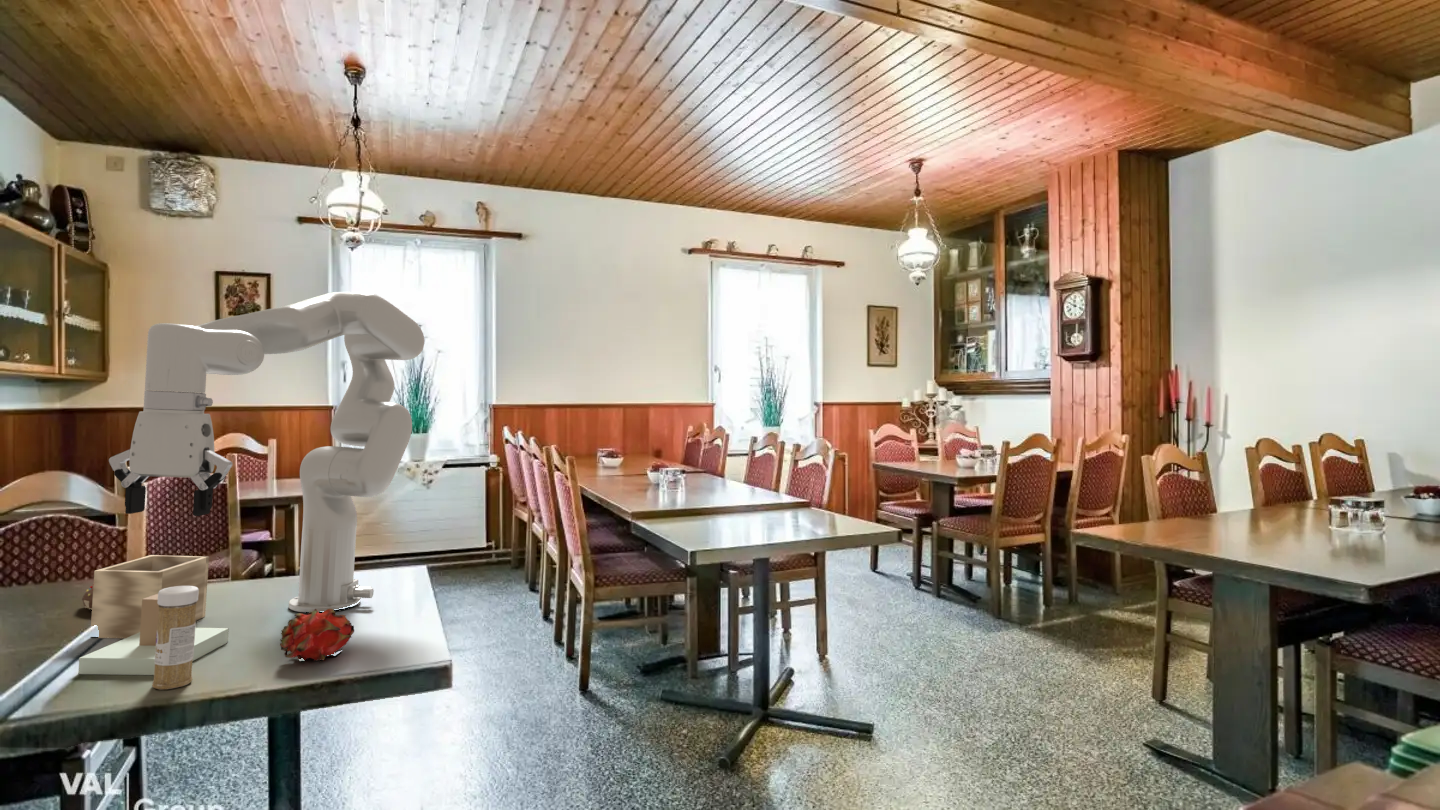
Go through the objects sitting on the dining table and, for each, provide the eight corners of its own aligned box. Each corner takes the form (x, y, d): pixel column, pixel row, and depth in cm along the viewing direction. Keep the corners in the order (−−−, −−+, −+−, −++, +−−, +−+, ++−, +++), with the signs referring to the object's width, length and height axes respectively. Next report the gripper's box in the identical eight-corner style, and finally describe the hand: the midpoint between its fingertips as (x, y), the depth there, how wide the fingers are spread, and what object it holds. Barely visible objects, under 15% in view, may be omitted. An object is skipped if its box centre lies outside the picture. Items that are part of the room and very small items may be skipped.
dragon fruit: (268, 679, 107) (344, 669, 117) (300, 654, 104) (375, 646, 114) (261, 626, 111) (335, 620, 121) (292, 600, 108) (365, 597, 118)
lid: (228, 642, 118) (231, 585, 118) (166, 675, 103) (170, 610, 103) (151, 640, 116) (155, 584, 117) (78, 673, 102) (82, 608, 102)
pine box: (205, 616, 130) (208, 556, 131) (155, 639, 117) (159, 572, 118) (147, 615, 130) (151, 555, 130) (90, 637, 116) (94, 570, 117)
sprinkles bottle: (148, 684, 99) (154, 587, 99) (188, 676, 103) (193, 583, 103) (156, 693, 96) (162, 594, 96) (197, 685, 100) (203, 589, 100)
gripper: (247, 406, 115) (241, 512, 115) (132, 401, 113) (126, 508, 113) (219, 406, 107) (212, 519, 107) (96, 400, 106) (89, 515, 106)
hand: (168, 513), depth 110 cm, fingers open, 9 cm apart
